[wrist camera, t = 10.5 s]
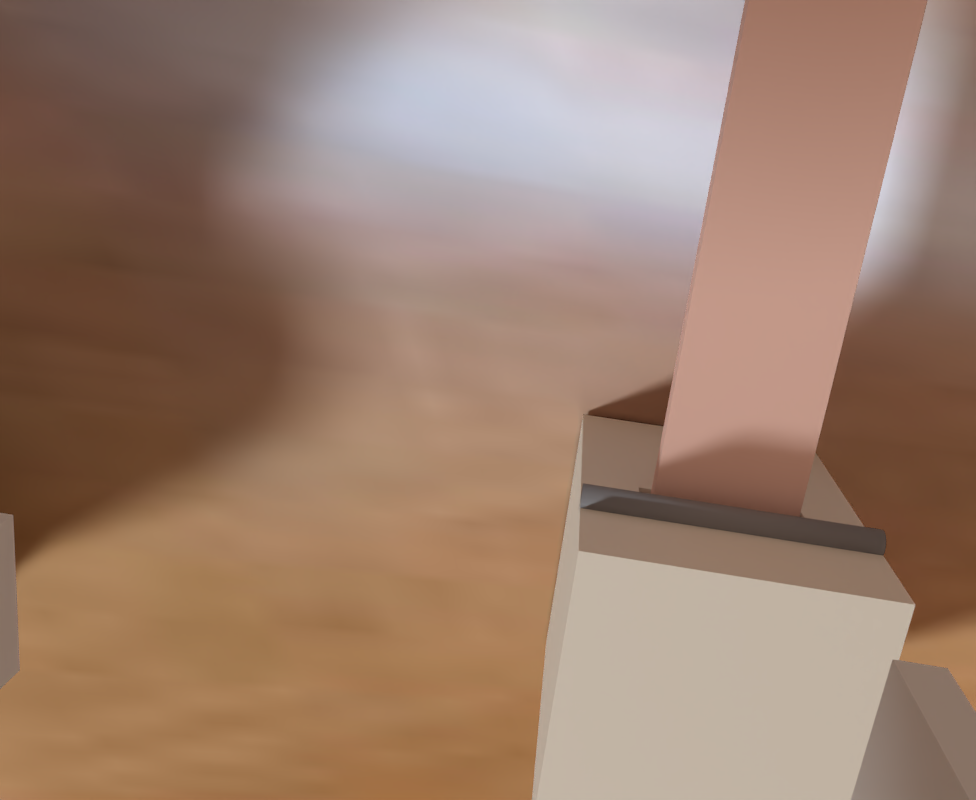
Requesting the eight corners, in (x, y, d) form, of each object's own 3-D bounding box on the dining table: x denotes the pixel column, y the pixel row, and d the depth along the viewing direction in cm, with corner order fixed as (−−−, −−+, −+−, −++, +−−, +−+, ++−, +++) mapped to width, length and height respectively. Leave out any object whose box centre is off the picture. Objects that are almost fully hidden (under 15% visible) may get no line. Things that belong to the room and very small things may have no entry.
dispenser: (546, 643, 53) (526, 856, 38) (585, 400, 48) (581, 530, 33) (756, 678, 52) (823, 911, 37) (817, 434, 48) (921, 584, 32)
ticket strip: (640, 546, 40) (641, 557, 39) (756, -58, 33) (761, -63, 32) (779, 568, 40) (783, 579, 39) (928, -38, 32) (938, -43, 31)
